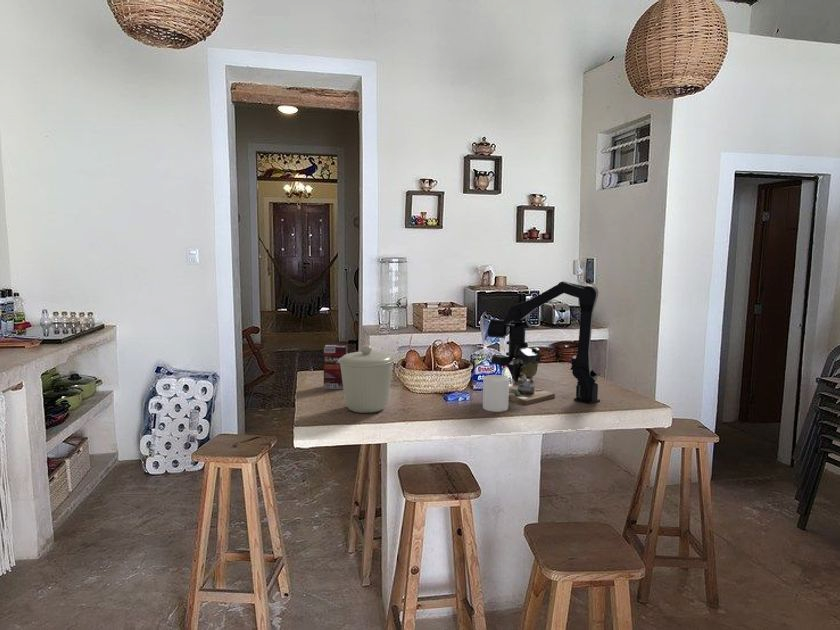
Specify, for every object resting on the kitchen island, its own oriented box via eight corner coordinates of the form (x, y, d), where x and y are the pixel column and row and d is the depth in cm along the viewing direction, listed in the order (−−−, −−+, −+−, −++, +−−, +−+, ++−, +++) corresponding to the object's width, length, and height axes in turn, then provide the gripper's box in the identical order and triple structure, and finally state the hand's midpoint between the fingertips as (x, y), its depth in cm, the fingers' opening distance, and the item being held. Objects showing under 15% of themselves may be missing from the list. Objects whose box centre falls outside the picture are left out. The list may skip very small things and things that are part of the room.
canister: (340, 401, 188) (339, 340, 185) (393, 400, 189) (393, 340, 187) (337, 418, 170) (336, 350, 167) (395, 416, 171) (395, 349, 169)
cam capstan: (536, 394, 191) (536, 379, 190) (519, 394, 191) (519, 379, 190) (529, 385, 202) (529, 372, 202) (512, 385, 202) (513, 372, 201)
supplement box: (323, 389, 204) (322, 347, 202) (325, 386, 208) (324, 344, 207) (346, 389, 204) (346, 346, 202) (348, 385, 209) (347, 344, 207)
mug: (487, 381, 175) (477, 372, 186) (486, 412, 176) (476, 402, 188) (512, 380, 176) (500, 371, 188) (511, 411, 177) (500, 401, 189)
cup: (539, 382, 215) (539, 362, 214) (520, 382, 215) (520, 362, 214) (535, 378, 222) (536, 358, 221) (517, 377, 223) (517, 358, 222)
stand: (555, 397, 194) (555, 388, 193) (525, 404, 184) (526, 395, 184) (523, 388, 206) (523, 379, 205) (493, 395, 196) (494, 385, 196)
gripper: (511, 344, 186) (510, 389, 188) (552, 340, 196) (550, 383, 197) (491, 339, 196) (489, 382, 197) (530, 336, 205) (529, 377, 207)
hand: (515, 381), depth 199 cm, fingers closed
